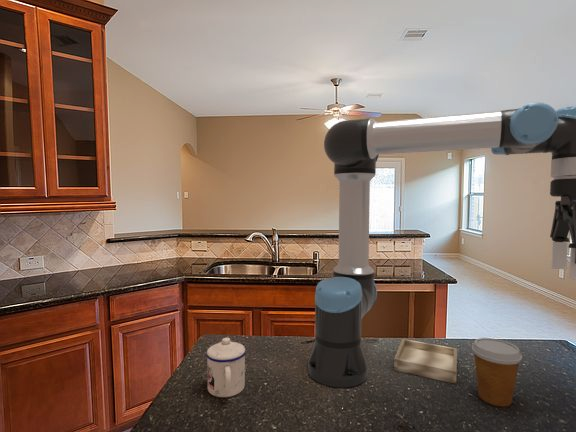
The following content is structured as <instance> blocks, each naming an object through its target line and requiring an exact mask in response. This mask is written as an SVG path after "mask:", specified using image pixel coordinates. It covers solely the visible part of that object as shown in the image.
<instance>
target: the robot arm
mask: <svg viewBox="0 0 576 432" xmlns="http://www.w3.org/2000/svg"><path fill="white" fill-rule="evenodd" d="M323 148H324V152H325V154H326V156H327V158H328V159H329V161H331V162H332V163H333V166H334V168H333V172H334V173H333V175H334V177H335V178H336V179H337V181H338V183H339V185H338V186H339V187H338V188H339V195H338V196H339V201H338V206H339V207H338V263H337V265H335V267H333V269H332V271H333V272H332V273H333V274H332V276H331V277H330V278H329V277H328V278H327V277H326V278H324V279H322V280H320V281H319V282H318V283H317V285H316V287H315V293H314V301H315V302H314V326H315V327H314V333H315V336H314V344H313V346H312V349H311V352H310V355H309V358H308V362H307V373H308V376H310V377H311V379H312V380H314V381H316V382H317V383H319V384H321V385H323V386H328V387H332V388H352V387H356V386H359V385H361V384H364V382H365V381H367V379H368V377H369V376H368V375H369V373H368V372H369V368H368V366H369V365H368V362H367V359H366V356H365V353H364V350H363V346H362V319H363V317H364V316H365V315H366V314H367V313H368V312H369V311H370V310H371V309H372V308H373V306H374V305H375V303H376V300H377V297H378V296H377V295H378V290H377V289H378V288H377V284H376V282H375V271H374V268H372V267H371V266H370V265H369V264H370V263H369V262H370V261H369V258H370V256H369V255H370V254H369V253H370V204H371V203H370V199H371V198H370V195H371V193H370V191H371V185H370V184H371V180H373V178H374V177H375V176H376V171H377V170H376V169H377V161H378V159H379V157H380V155H389V154H390V155H391V154H392V155H393V154H410V153H411V154H412V153H427V152H443V151H458V150H459V151H460V150H463V151H464V150H473V149H474V150H477V149H478V150H479V149H490V150H491V153H492V154H493V155H503V156H510V155H523V154H526V155H527V154H542V153H543V154H546V153H551V160H550V161H551V162H550V178H553V179H552V180H551V181H550V186H549V189H550V190H549V195H550V196H551V197H556V198H557V197H560V200H556V201H555V202H554V205H555V206H554V207H555V208H554V212H553V213H554V214H553V220H552V225H551V229H550V234H549V237H550V239H551V240H552V247H551V248H552V250H551V252H552V253H551V269H552V270H564V271H565V270H567V268H568V267H567V263H568V248H569V249H570V252H569V270H568V271H569V273H568V275H569V276H568V279H569V281H570V280H571V281H576V105H571V106H565V107H561V108H558V109H557V110H555V108H553V107H552V106H551V104H550V105H549V104H548V103H544V102H540V101H539V102H537V101H536V102H530V103H527V104H525V105H522V106H521V107H519V108H512V109H504V110H493V111H492V110H491V111H481V112H471V113H462V114H451V115H450V114H448V115H441V116H427V117H417V118H409V119H397V120H396V119H395V120H386V121H385V120H384V121H377V120H375V119H374V118H372V117H371V118H369V117H368V118H360V119H350V120H349V119H346V120H342V121H339V122H337V123H335V124H333V125H332V126H331V127H330V128H329V130H328V131H327V132H326V134H325V136H324V141H323ZM569 235H570V238H569V237H568V236H569ZM570 240H571V241H570ZM570 242H571V243H570Z"/></svg>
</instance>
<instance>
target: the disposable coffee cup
mask: <svg viewBox="0 0 576 432" xmlns="http://www.w3.org/2000/svg"><path fill="white" fill-rule="evenodd" d="M471 350H472V352H473V354H474V355H473V356H474V366H475V367H474V368H475V373H476V382H477V383H476V384H477V394H478V396H479V398H480V399H481V400H483V401H484V402H486V403H487V404H490V405H493V406H497V407H510V405H511V404H512V402H513V398H514V397H513V396H514V391H515V386H516V381H517V377H518V371H519V370H518V369H519V366H520V363H521V360H522V359H523V356H522V353H521V351H520V348H518V346H517V345H515V344H512V343H511V342H508V341H505V340H502V339H498V338H491V337H481V338H480V337H479V338H476V339H475V340H474V341H473V344H472V345H471Z"/></svg>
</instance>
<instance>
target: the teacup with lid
mask: <svg viewBox="0 0 576 432" xmlns="http://www.w3.org/2000/svg"><path fill="white" fill-rule="evenodd" d="M246 352H247V351H246V347H245V346H244V345H243V344H242V343H239V342H236V341H232V340H231V338H230V337H223V338H222V339H221V341H220V342H217V343H215V344H212V345H211V346H210V347H208V348H207V351H206V355H205V356H206V357H207V359H206V360H207V367H206V368H207V369H206V370H207V372H206V373H207V375H206V376H207V391H208V393H210V394H211V395H212V396H214V397H217V398H229V397H233V396H236V395H238V394H240V393H241V392H242V391H243V390H244V389H245V386H246V384H245V383H246V376H245V375H246V361H245V359H246V356H245V355H246Z"/></svg>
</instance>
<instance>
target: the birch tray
mask: <svg viewBox="0 0 576 432" xmlns="http://www.w3.org/2000/svg"><path fill="white" fill-rule="evenodd" d="M457 366H458V348H456V347H450V346H446V345H445V346H444V345H439V344H434V343H429V342H423V341H417V340H410V339H406V338H401V342H400V344H399V346H398V348H397V352H396V353H395V355H394V358H393V371H396V372H400V373H405V374H409V375H414V376H418V377H422V378H427V379H433V380H437V381H439V382H445V383H450V384H454V385H457V377H458V376H457V373H458V372H457V371H458V370H457V369H458V367H457Z"/></svg>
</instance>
